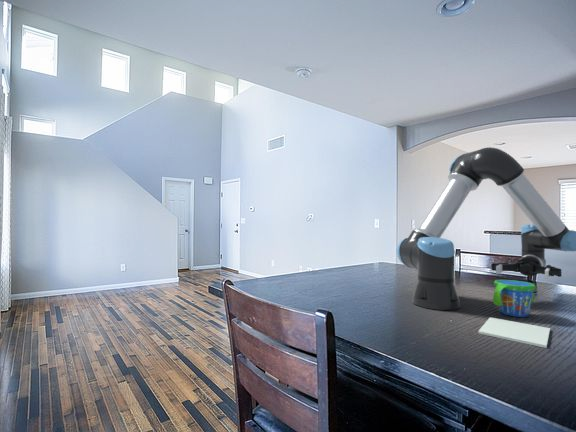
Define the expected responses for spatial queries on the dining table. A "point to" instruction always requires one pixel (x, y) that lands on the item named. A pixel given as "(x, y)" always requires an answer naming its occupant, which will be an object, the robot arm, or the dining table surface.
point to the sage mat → (516, 332)
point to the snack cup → (514, 297)
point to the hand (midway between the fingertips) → (520, 272)
